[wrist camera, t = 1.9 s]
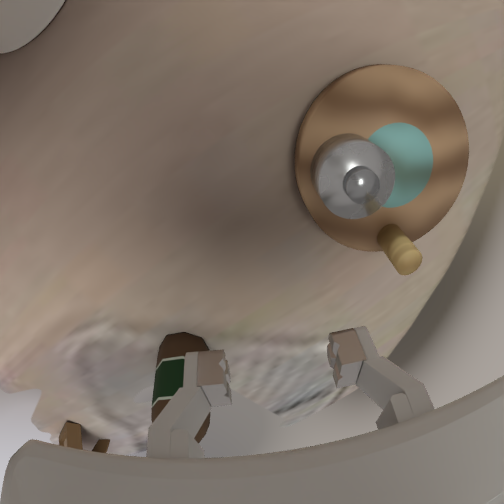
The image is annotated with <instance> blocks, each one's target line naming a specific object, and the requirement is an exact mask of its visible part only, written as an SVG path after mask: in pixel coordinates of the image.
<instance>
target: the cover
mask: <svg viewBox="0 0 504 504" xmlns="http://www.w3.org/2000/svg"><path fill="white" fill-rule="evenodd" d="M310 175H311V181H312V184H313V186H314V188H315V190H316V191H317V193H318V195H319V196H320V198H321V199H322V201H323V203H324V204H325V206H326V207H327V208H328V209H329V210H330V211H331V212H332V213H334V214H335V215H337V216H339V217H342V218H346V219H359V218H364V217H367V216H369V215H371V214H373V213H375V212H376V211H377V210H379V209H380V208H381V207H382V206H383V205H384V204H385V203H386V202H387V200H388V199H389V197H390V195H391V193H392V191H393V188H394V184H395V169H394V165H393V162H392V160H391V158H390V157H389V155H388V154H387V153H386V152H385V151H384V150H383V149H381V148H380V147H379V146H377V145H376V144H374V143H373V142H371V141H369V140H368V139H366V138H365V137H363V136H360V135H357V134H353V133H345V134H339V135H336V136H334V137H332V138H330V139H328V140H327V141H325V142H324V143H323V144H322V145H321V146H320V147H319V148H318V150H317V151H316V153H315V155H314V157H313V159H312V163H311V168H310Z"/></svg>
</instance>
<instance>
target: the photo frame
mask: <svg viewBox="0 0 504 504" xmlns="http://www.w3.org/2000/svg"><path fill="white" fill-rule="evenodd" d="M109 442H110V440H105V439H99V441H98V442H97V444H96V445H95V447H94V448H93V450H92V451H93V452H100V453H106V452H107V449H108V445H109ZM59 445H60V446H64V447H70V448H75V449H81V450H83V448H82V437H81V425H80V424H75V423H69V422H66V424H65V426H64V428H63V430H62V431H61V433H60V435H59Z"/></svg>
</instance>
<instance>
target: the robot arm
mask: <svg viewBox="0 0 504 504" xmlns="http://www.w3.org/2000/svg"><path fill="white" fill-rule="evenodd" d="M64 1H65V0H0V53H7V52H11V51H14V50H16V49H18V48H20V47H22V46H24V45H25V44H27V43H28V42H30V41H31V40H32V39H34V38H35V37H36V36H37V35H38V34H39V33H40V32H41V31H42V30H43V29H44V28H45V27H46V26H47V25H48V24H49V23H50V22H51V20H52V19H53V18H54V17H55V15H56V14H57V12H58V11H59V9H60V8H61V6H62V5H63V3H64ZM328 339H329V342H330V343H329V344H328V346H327V356H328V361H329V364H330V367H332V368H333V369H334V370H333V378H334V381H335V385H336V388H340V387H345V386H350V385H355V384H356V386H357V387H358V388H360V389H361V390H362V391H363V392H364V393H365V394H366V395H367V396H368V397H369V398H371V399H372V400H373V401H374V402H375V403H376V404H377V405H378V406H380V407H381V408H382V409H383V412H382V413H381V415H380V416H379V418H378V420H377V421H376V424H377V428H378V430H375V431H372V432H369V433H365V434H362V435H358V436H355V437H350V438H346V439H342V440H339V441H334V442H329V443H325V444H320V445H315V446H310V447H305V448H299V449H294V450H288V451H281V452H273V453H266V454H257V455H248V456H235V457H221V458H205V457H204V450H203V448H201V446H200V445H199V444H198V443H197V441H196V440H195V439H194V438H195V436H196V434H197V433H198V431H199V429H200V427H201V426H202V424H203V422H204V421H205V419H206V417H207V415H208V414H209V412H210V410H211V407H215V406H225V405H231V404H232V399H231V389H230V386H229V383H230V382H231V381H230V371H229V365H228V361H227V360H226V359H225V352H224V350H213V351H200V352H187V353H186V355H185V363H184V380H183V387H182V388H179V389H178V391H177V392H176V393H175V395H174V396H173V397H172V398H171V400H170V401H169V402H168V404H167V405H166V406H165V408H164V409H163V410H162V412H161V413H160V414H159V416H158V417H157V418H156V419H155V421H154V422H153V423H152V425H151V426H150V427H149V431H148V442H147V456H146V457H136V456H125V455H116V454H107V453H100V452H93V451H86V450H81V449H75V448H70V447H64V446H60V445H55V444H51V443H46V442H42V441H39V440H29V441H28V442H26V443H25V444H24V445H23V446H22V447H21V448H20V449H18V451H17V452H16V453H15V454H14V455H13V456H12V457H11V458H10V460H9V463H8V466H7V469H6V472H5V476H4V481H3V487H2V494H1V501H0V504H504V376H502V377H500V378H498V379H497V380H495V381H493V382H491V383H489V384H487V385H486V386H484V387H482V388H480V389H478V390H476V391H474V392H472V393H470V394H468V395H466V396H464V397H462V398H460V399H458V400H455V401H453V402H451V403H449V404H446V405H444V406H442V407H439V408H437V409H434V407H433V404H432V402H431V400H430V397H429V395H428V393H427V390H426V388H425V386H424V384H423V383H421V382H420V381H418V380H417V379H415V378H414V377H413V376H411V375H409V374H408V373H407V372H405V371H404V370H402V369H401V368H399V367H398V366H396V365H395V364H394V363H392V362H391V361H389V360H388V359H386V358H385V357H383V356H381V357H380V356H379V354H378V352H377V349H376V347H375V345H374V343H373V340H372V338H371V336H370V334H369V331H368V329H367V327H366V326H361V327H357V328H351V329H346V330H342V331H337V332H332V333H330V334H329V338H328Z"/></svg>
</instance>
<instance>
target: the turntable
mask: <svg viewBox="0 0 504 504" xmlns="http://www.w3.org/2000/svg"><path fill="white" fill-rule="evenodd" d="M345 133H353V134H357V135H360V136H363V137H365V138H366V139H368V140H369V141H371V142H373V143H374V144H376V145H377V146H379V147H380V148H381V149H383V150H384V151H385V152H386V153H387V154H388V155H389V157H390V158H391V160H392V162H393V165H394V169H395V184H394V188H393V191H392V193H391V195H390V197H389V199H388V200H387V202H386V203H385V204H384V205H383V206H382V207H381V208H380V209H379V210H377V211H376V212H375V213H373V214H371V215H369V216H367V217H364V218H359V219H346V218H342V217H339V216H337V215H335V214H334V213H332V212H331V211H330V210H329V209H328V208H327V207H326V206H325V204H324V203H323V201H322V199H321V198H320V196H319V195H318V193H317V191H316V190H315V188H314V186H313V184H312V181H311V175H310V168H311V163H312V159H313V157H314V155H315V153H316V151H317V150H318V148H319V147H320V146H321V145H322V144H323V143H324V142H325V141H327V140H328V139H330V138H332V137H334V136H336V135H339V134H345ZM468 158H469V142H468V133H467V129H466V125H465V121H464V119H463V116H462V113H461V111H460V109H459V107H458V105H457V103H456V102H455V100H454V99H453V97H452V96H451V95H450V93H449V92H448V91H447V90H446V89H445V88H444V87H443V86H442V85H441V84H440V83H439V82H437V81H436V80H435V79H434V78H432V77H430V76H428V75H427V74H425V73H423V72H421V71H418V70H415V69H413V68H408V67H404V66H397V65H385V64H377V65H369V66H364V67H361V68H358V69H354V70H352V71H350V72H348V73H346V74H344V75H342V76H341V77H339V78H338V79H336V80H335V81H333V82H332V83H331V84H330V85H328V86H327V87H326V88H325V89H324V90H323V91H322V92H321V93H320V95H319V96H318V97H317V98H316V99H315V101H314V102H313V103H312V105H311V107H310V108H309V110H308V112H307V113H306V115H305V118H304V120H303V122H302V125H301V127H300V130H299V134H298V137H297V142H296V148H295V174H296V180H297V184H298V188H299V191H300V194H301V196H302V199H303V201H304V203H305V205H306V207H307V209H308V211H309V212H310V214H311V216H312V217H313V219H314V221H315V222H316V223H317V224H318V226H319V227H320V228H321V229H322V230H323V231H324V232H325V233H326V234H327V235H328V236H329V237H331V238H332V239H334V240H335V241H337V242H338V243H341V244H343V245H345V246H347V247H350V248H353V249H356V250H362V251H384V252H385V254H386V255H387V257H388V258H389V260H390V261H391V263H392V264H393V266H394V267H395V269H396V270H397V272H398V273H399V274H401V275H409V274H411V273H413V272H414V271H416V270H417V269H418V267H419V266H420V264H421V262H422V254H421V253H420V252H419V250H418V249H417V248H416V247H415V245H414V244H413V243H412V242H413V241H415V240H417V239H419V238H420V237H422V236H423V235H425V234H426V233H427V232H429V231H430V230H431V229H433V228H434V227H435V226H436V225H437V224H438V223H439V222H440V221H441V220H442V219H443V217H444V216H445V215H446V214H447V212H448V211H449V210H450V208H451V207H452V205H453V204H454V202H455V200H456V198H457V197H458V194H459V192H460V190H461V188H462V185H463V182H464V179H465V176H466V171H467V166H468Z"/></svg>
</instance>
